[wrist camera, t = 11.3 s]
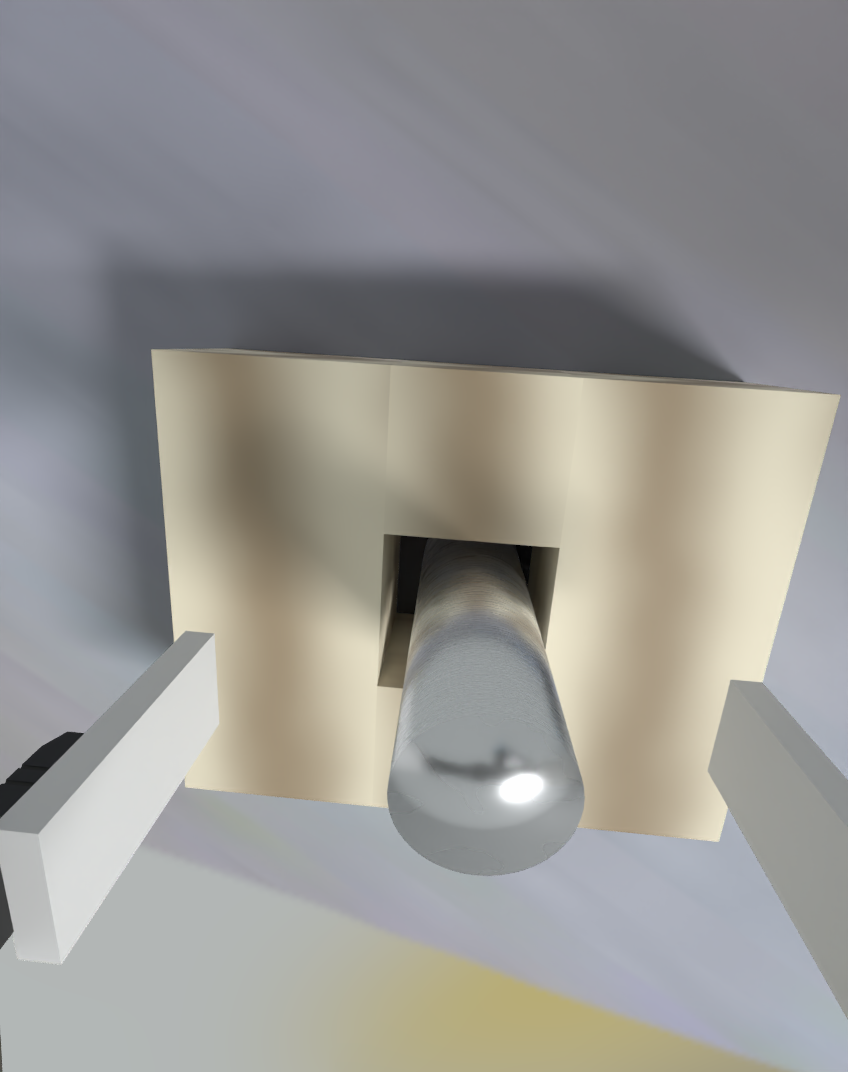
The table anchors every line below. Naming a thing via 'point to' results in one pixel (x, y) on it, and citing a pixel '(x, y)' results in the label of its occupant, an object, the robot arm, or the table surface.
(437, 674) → the steel pin
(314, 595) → the block
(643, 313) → the table surface
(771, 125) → the table surface
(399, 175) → the table surface
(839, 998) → the robot arm
